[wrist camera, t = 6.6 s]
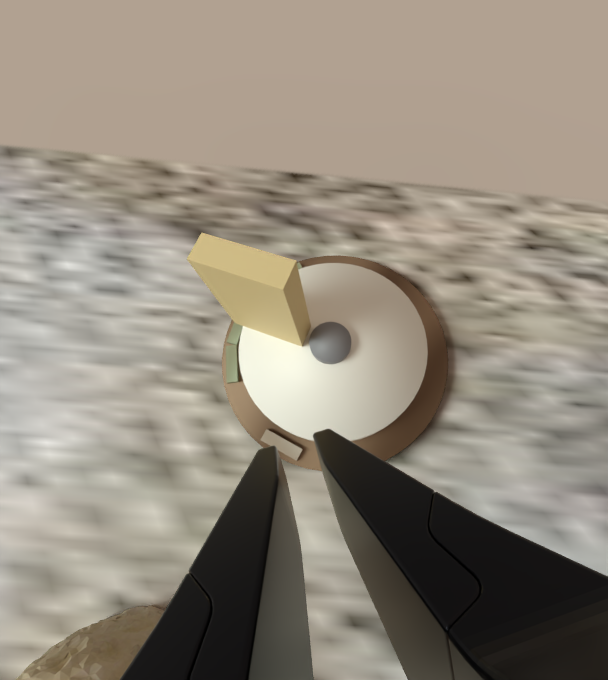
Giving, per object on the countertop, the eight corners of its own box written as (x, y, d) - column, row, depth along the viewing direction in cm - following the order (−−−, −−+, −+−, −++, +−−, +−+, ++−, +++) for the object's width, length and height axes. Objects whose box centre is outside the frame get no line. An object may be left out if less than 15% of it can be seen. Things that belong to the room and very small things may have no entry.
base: (477, 309, 23) (483, 302, 22) (387, 520, 19) (390, 523, 18) (290, 235, 26) (287, 225, 25) (185, 402, 23) (178, 399, 22)
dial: (390, 475, 19) (424, 481, 11) (207, 399, 22) (129, 361, 14) (444, 301, 22) (500, 209, 14) (278, 252, 25) (247, 151, 17)
